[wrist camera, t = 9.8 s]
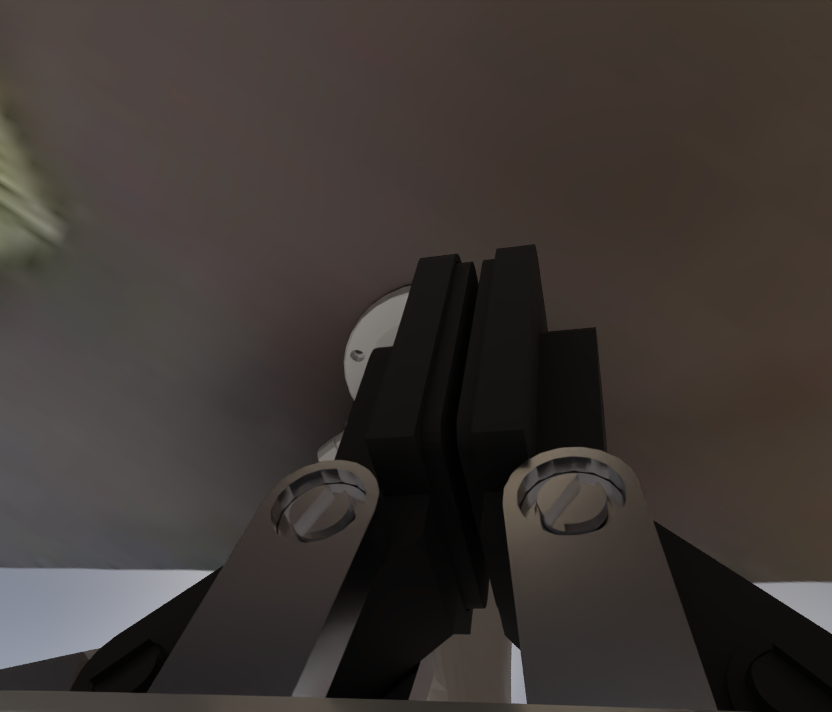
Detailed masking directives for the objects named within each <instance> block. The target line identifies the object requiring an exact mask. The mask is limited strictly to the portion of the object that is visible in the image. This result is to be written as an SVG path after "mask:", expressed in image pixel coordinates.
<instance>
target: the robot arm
mask: <svg viewBox="0 0 832 712" xmlns="http://www.w3.org/2000/svg"><path fill="white" fill-rule="evenodd" d="M344 373H345V380H346V383H347V386H348V389H349V392H350V395H351V396H352V398H353V400H354V403H353V406H352V409H351V412H350V415H349V418H348V421H347V422H346V423H345V430H344V431H343V432H341V433H339V434H337V435H335V436H334V437H333V438H331V439H330V440H329V441H328V442H326V443H325V444H324V445H322V446H321V447H320V448H319V450H318V452H317V454H318V460H319V462H318V463H314V464H311V465H307V466H305V467H303V468H301V469H299V470H297V471H295V472H293V473H291V474H289V475H288V476H286V477H285V478H284V479H283V480H281V481H280V482H279V483H278V484H276V485H275V486H274V487H273V488H272V490H271V491H270V492H269V493H268V495H267V496H266V497H265V498H264V500H263V501H262V503H261V505H260V506H259V508H258V510H257V511H256V513H255V515H254V516H253V518H252V520H251V521H250V523H249V525H248V526H247V528H246V530H245V531H244V533H243V535H242V536H241V538H240V539H239V541H238V543H237V544H236V546H235V548H234V549H233V551H232V553H231V554H230V556H229V558H228V559H227V561H226V563H225V564H224V566H222V567H220V568H219V569H217V570H216V571H214V572H213V573H211V574H210V575H208V576H207V577H205V578H204V579H202V580H201V581H199V582H198V583H196V584H195V585H193V586H192V587H190V588H188V589H187V590H185V591H184V592H182V593H181V594H179V595H178V596H176V597H175V598H173V599H172V600H170V601H169V602H167V603H166V604H164V605H163V606H161V607H160V608H158V609H156V610H155V611H153V612H152V613H150V614H149V615H147V616H146V617H144V618H143V619H141V620H140V621H138V622H137V623H136V624H134V625H132V626H131V627H129V628H128V629H126V630H124V631H123V632H121V633H120V634H118V635H117V636H116V637H114V638H113V639H112V640H110V641H109V642H108V643H106V644H105V645H104V646H103V647H101V648H99V649H94V650H89V651H85V652H79V653H75V654H70V655H65V656H60V657H56V658H51V659H47V660H42V661H38V662H33V663H28V664H23V665H19V666H14V667H9V668H5V669H0V712H832V634H831V633H829V632H828V631H826V630H824V629H823V628H821V627H820V626H818V625H816V624H815V623H814V622H812V621H810V620H809V619H807V618H806V617H804V616H802V615H801V614H799V613H798V612H796V611H795V610H793V609H791V608H790V607H788V606H787V605H785V604H784V603H782V602H781V601H779V600H777V599H776V598H774V597H773V596H771V595H770V594H768V593H766V592H765V591H763V590H762V589H760V588H759V587H757V586H756V585H754V584H752V583H751V582H749V581H748V580H746V579H745V578H743V577H741V576H740V575H738V574H737V573H735V572H734V571H732V570H730V569H729V568H727V567H726V566H724V565H723V564H721V563H719V562H718V561H716V560H715V559H713V558H712V557H710V556H708V555H707V554H705V553H704V552H702V551H701V550H699V549H697V548H696V547H694V546H693V545H691V544H690V543H688V542H686V541H685V540H683V539H682V538H680V537H679V536H677V535H676V534H674V533H672V532H671V531H669V530H668V529H666V528H665V527H663V526H661V525H660V524H658V523H657V522H655V521H654V520H653V519H652V516H651V513H650V510H649V507H648V504H647V501H646V498H645V495H644V493H643V490H642V487H641V484H640V482H639V480H638V478H637V477H636V475H635V473H634V472H633V470H632V469H631V468H630V467H629V466H628V465H626V464H625V463H624V462H623V461H621V460H620V459H619V458H618V457H615V456H613V455H611V454H608V453H607V447H606V434H605V421H604V409H603V397H602V386H601V375H600V365H599V354H598V344H597V334H596V327H594V328H583V329H572V330H561V331H551V332H548V328H547V321H546V313H545V306H544V299H543V292H542V285H541V278H540V270H539V263H538V256H537V251H536V246H535V244H533V245H525V246H517V247H509V248H500V249H497V250H496V255H495V259H491V260H483V263H482V269H481V275H480V281H479V285H478V280H477V274H476V270H475V266H474V263H473V262H466V263H461V260H460V257H459V255H458V254H451V255H443V256H435V257H426V258H420V260H419V262H418V265H417V269H416V272H415V275H414V278H413V282H412V285H410V286H406V287H402V288H400V289H398V290H396V291H393V292H391V293H389V294H387V295H385V296H383V297H382V298H381V299H379V300H378V301H376V302H375V303H374V304H372V305H371V306H370V307H369V308H368V309H367V310H366V311H365V312H364V313H363V315H362V316H361V317H360V318H359V319H358V321H357V323H356V325H355V327H354V328H353V330H352V332H351V335H350V338H349V340H348V343H347V346H346V350H345V357H344ZM512 643H513V644H514V645H516V647H518V648H519V649H520V650H521V658H522V666H523V675H524V682H525V691H526V699H527V704H511V648H512V646H511V645H512Z"/></svg>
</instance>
